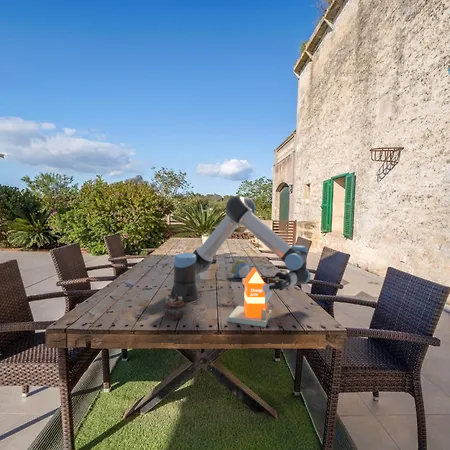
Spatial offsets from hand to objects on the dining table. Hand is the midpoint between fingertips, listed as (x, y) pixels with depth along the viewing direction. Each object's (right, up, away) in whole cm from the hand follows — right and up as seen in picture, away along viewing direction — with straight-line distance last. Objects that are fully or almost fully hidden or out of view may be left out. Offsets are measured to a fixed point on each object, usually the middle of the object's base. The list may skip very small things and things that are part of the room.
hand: (252, 284), depth 129 cm
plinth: (-1, -15, +1) cm, 15 cm away
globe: (-1, -11, +81) cm, 81 cm away
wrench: (+10, -14, +29) cm, 34 cm away
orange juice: (+1, -13, 0) cm, 13 cm away
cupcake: (-34, -14, 0) cm, 37 cm away
